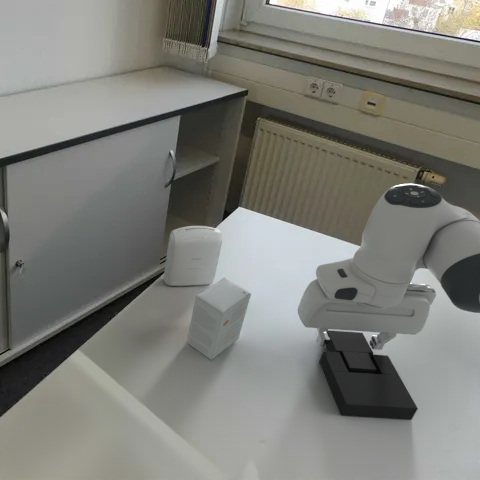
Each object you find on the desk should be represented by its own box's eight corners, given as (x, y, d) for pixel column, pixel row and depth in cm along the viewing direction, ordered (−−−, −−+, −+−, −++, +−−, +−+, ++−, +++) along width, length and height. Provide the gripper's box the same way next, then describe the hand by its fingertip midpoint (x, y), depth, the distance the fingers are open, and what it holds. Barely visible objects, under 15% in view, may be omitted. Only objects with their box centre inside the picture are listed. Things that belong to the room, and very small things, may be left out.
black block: (322, 340, 96) (326, 330, 94) (357, 343, 96) (362, 332, 94) (339, 378, 88) (344, 367, 87) (377, 381, 89) (382, 370, 87)
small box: (213, 322, 97) (224, 276, 91) (239, 339, 94) (252, 292, 88) (185, 342, 92) (195, 294, 86) (211, 361, 89) (223, 312, 83)
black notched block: (318, 362, 91) (323, 351, 90) (382, 366, 92) (387, 355, 90) (341, 415, 82) (346, 404, 80) (411, 419, 82) (418, 408, 81)
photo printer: (165, 288, 104) (174, 234, 98) (160, 274, 108) (168, 221, 101) (215, 286, 106) (228, 233, 99) (209, 273, 110) (221, 221, 103)
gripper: (430, 274, 88) (399, 336, 96) (307, 265, 87) (286, 328, 95) (450, 298, 83) (415, 362, 91) (319, 289, 82) (295, 354, 90)
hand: (348, 345), depth 93 cm, fingers open, 8 cm apart
